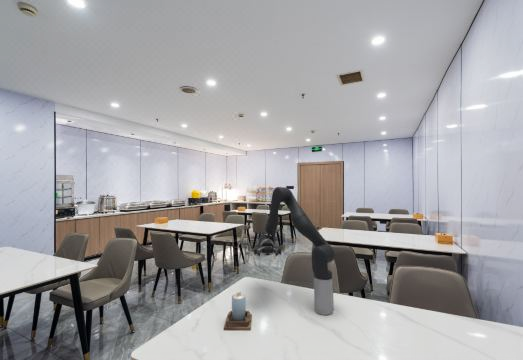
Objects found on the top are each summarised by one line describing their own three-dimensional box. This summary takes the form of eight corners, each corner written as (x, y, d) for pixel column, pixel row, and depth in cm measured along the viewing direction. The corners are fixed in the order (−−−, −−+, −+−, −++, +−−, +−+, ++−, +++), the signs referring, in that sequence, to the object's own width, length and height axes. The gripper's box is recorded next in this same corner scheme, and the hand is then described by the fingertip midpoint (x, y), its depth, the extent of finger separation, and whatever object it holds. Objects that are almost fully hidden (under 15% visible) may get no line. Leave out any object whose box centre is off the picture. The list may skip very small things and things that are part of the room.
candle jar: (240, 315, 119) (240, 288, 120) (248, 321, 114) (248, 292, 115) (229, 320, 115) (229, 292, 116) (236, 325, 110) (236, 296, 111)
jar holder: (227, 316, 121) (227, 310, 121) (252, 316, 121) (252, 310, 121) (223, 330, 109) (223, 323, 109) (250, 330, 109) (250, 323, 109)
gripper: (254, 240, 139) (253, 246, 123) (279, 240, 139) (282, 246, 123) (254, 253, 139) (253, 261, 122) (279, 253, 139) (282, 261, 122)
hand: (267, 254), depth 123 cm, fingers open, 8 cm apart
